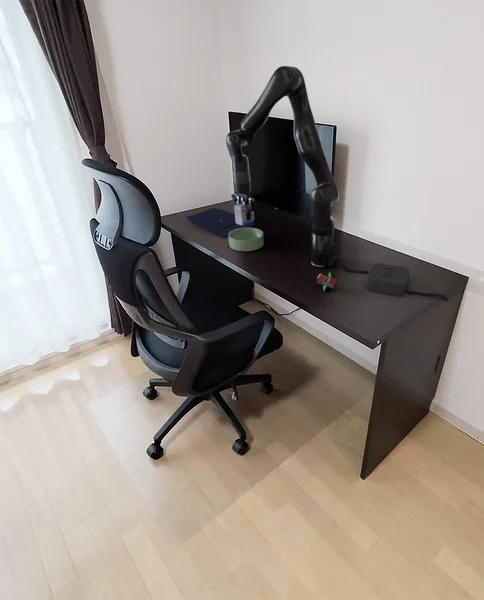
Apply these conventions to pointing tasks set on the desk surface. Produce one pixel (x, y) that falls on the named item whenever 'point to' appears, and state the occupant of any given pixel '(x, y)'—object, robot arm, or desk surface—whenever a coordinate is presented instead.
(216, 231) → the folded navy cloth
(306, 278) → the desk surface
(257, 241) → the bowl
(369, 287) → the streaming box
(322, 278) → the geometric puzzle
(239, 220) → the medicine box
